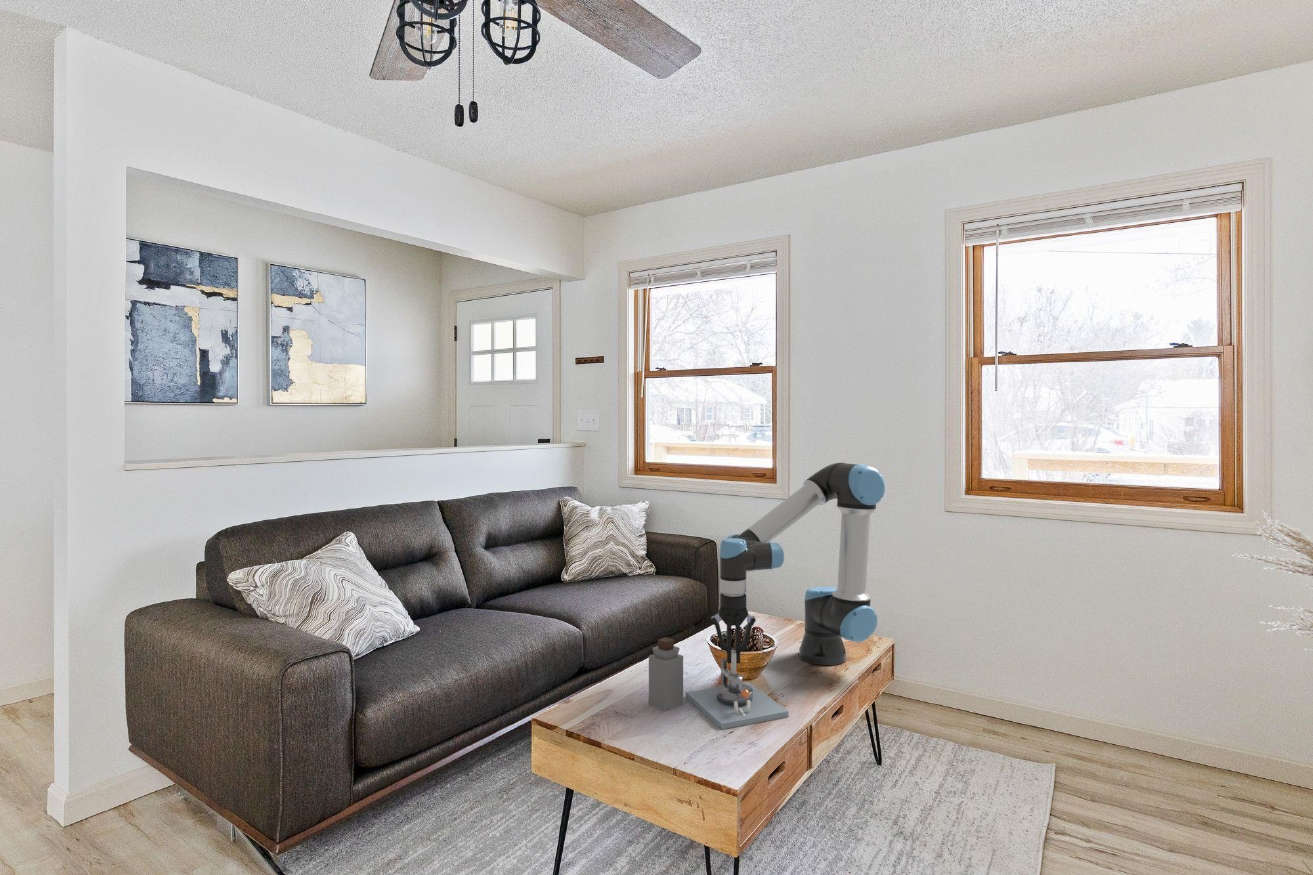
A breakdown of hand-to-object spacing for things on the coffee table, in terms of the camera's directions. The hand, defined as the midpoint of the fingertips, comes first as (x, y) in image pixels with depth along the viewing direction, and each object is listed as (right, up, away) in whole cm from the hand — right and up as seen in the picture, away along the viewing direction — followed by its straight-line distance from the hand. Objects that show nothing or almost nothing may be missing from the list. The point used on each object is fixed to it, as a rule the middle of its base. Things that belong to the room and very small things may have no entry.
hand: (733, 674), depth 203 cm
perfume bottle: (-20, -6, -8) cm, 22 cm away
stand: (0, -6, -9) cm, 11 cm away
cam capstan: (-1, -3, -8) cm, 9 cm away
